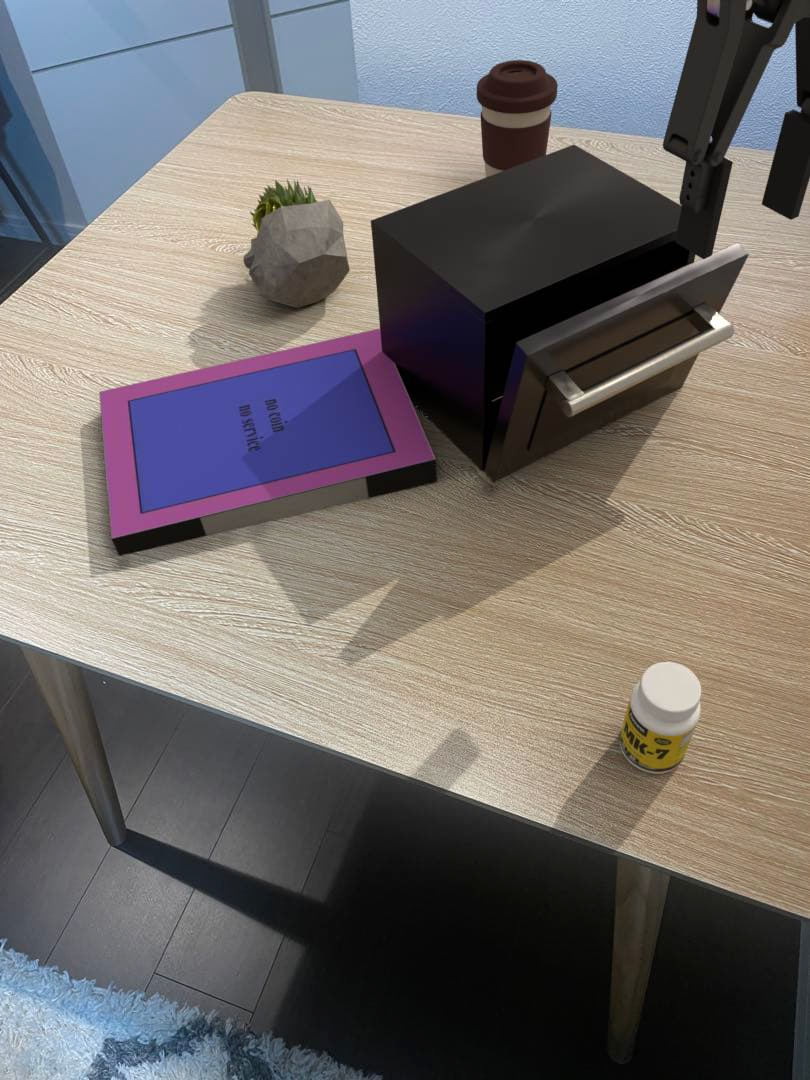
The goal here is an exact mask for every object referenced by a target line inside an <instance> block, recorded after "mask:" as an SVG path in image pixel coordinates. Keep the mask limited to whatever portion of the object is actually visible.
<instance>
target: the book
mask: <svg viewBox="0 0 810 1080" xmlns="http://www.w3.org/2000/svg"><path fill="white" fill-rule="evenodd" d="M98 393H99V406H100V417H101V431H102V442H103V454H104V467H105V479H106V489H107V490H106V492H107V503H108V504H107V505H108V516H109V530H110V539H111V541H112V543H113V545H114V548H115V549H116V552H117V554H118V556H119V557H122V556H126V555H131V554H134V553H140V552H143V551H147V550H151V549H156V548H161V547H165V546H169V545H174V544H178V543H181V542H187V541H191V540H196V539H199V538H204V537H208V536H213V535H217V534H220V533H221V534H222V533H224V532H225V533H226V532H230V531H234V530H238V529H239V530H240V529H243V528H247V527H250V526H255V525H256V526H257V525H261V524H264V523H268V522H273V521H277V520H282V519H286V518H290V517H294V516H298V515H302V514H307V513H312V512H316V511H320V510H325V509H328V508H333V507H338V506H341V505H347V504H350V503H355V502H360V501H363V500H367V499H372V498H376V497H381V496H385V495H390V494H393V493H398V492H400V491H405V490H406V491H407V490H410V489H413V488H418V487H421V486H426V485H430V484H434V483H437V482H438V472H437V459H436V456H435V454H434V451H433V450H432V447H431V444H430V442H429V440H428V438H427V435H426V433H425V430H424V429H423V426H422V423H421V421H420V418H419V416H418V414H417V412H416V409H415V406H414V404H413V403H412V402H411V400H410V398H409V395H408V393H407V391H406V388H405V386H404V384H403V381H402V379H401V377H400V374H399V372H398V370H397V367H396V365H395V363H394V362H393V361H392V360H391V359H390V358H389V357H387V356H386V355H385V354H384V353H383V352H382V345H381V334H380V327H379V328H375V329H371V330H366V331H363V332H359V333H358V332H357V333H353V334H348V335H345V336H344V335H343V336H340V337H336V338H331V339H327V340H322V341H317V342H313V343H309V344H304V345H300V346H296V347H292V348H287V349H283V350H278V351H275V352H269V353H264V354H260V355H256V356H252V357H251V356H250V357H247V358H243V359H238V360H233V361H229V362H225V363H221V364H220V363H219V364H216V365H212V366H207V367H203V368H198V369H194V370H189V371H185V372H180V373H176V374H172V375H167V376H163V377H158V378H154V379H150V380H144V381H140V382H136V383H131V384H127V385H123V386H119V387H113V388H110V389H105V390H100V391H98Z"/></svg>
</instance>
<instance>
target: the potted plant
mask: <svg viewBox="0 0 810 1080" xmlns="http://www.w3.org/2000/svg"><path fill="white" fill-rule="evenodd" d="M274 182H275V187H274V186H270V185H269V184H267V185H266V186H267V188H266V187H263V189H264V191H263V192H262V194H263V195H260V194H258V197H259V199H260V200H259V199H257V200H256V201H257V202H258V205H257V206H256V208H253V210H254V212H252V211H250V210H249V213H250V215H251V216H252V223H251V225H252V226H253V227H254V229H255V230H256V231H257V234H256V237H253V238H251V239H250V249H249V250H248V251H247V252H246V253H245V254H244V255H243V264H244V265H245V268H246V269H248V270H249V271H248V275H249V277H250V278H251V281H252V283H253V285H254V287H255V288H256V290H257V292H258V294H259V296H261V297H263V298H264V299H267V300H269V301H273V302H276V303H279V304H283V305H285V306H289V307H293V308H297V309H298V308H301V307H304V306H308V305H312V304H315V303H319V302H320V301H322V300H324V299H325V298H326V297H328V296H329V295H331V294H333V293H335V291H336V290H337V289H338V288H339V286H340V284H341V283H342V282H343V281H344V279H345V278H346V277H347V275H348V274H349V273H350V271H351V270H350V265H349V259H348V252H347V247H346V240H345V237H344V221H343V219H342V218H341V216H340V214H339V213H338V211H337V209H336V207H335V206H334V204H333V203H332V201H331V199H325V200H321V201H318V200H317V199H316V196H315V195H314V192H313V189H312V187H311V186H307V188H306V187H305V186H303V189H304V191H303V189H302V187H301V185H300V183H299V179H297V181H295V179H293V183H294V185H293V186H294V187H293V186H292V184H291V182H290V181H289V179H288V178H287V179H286V182H287V187H286V186H283V185H282V184H281V183H279V182H278V181H277V179H275V180H274Z"/></svg>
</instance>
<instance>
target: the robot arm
mask: <svg viewBox="0 0 810 1080" xmlns="http://www.w3.org/2000/svg"><path fill="white" fill-rule="evenodd" d="M754 15H755V17H756V18H757V19H758V20H761V21H764V22H766V23H770V24H771V25H770V26H769V27H767V26H765V25H762V24H759V23H756V22H754V21H753V16H754ZM793 28H794V32H795V34H794V37H795V84H796V88H795V89H796V106H797V107H798V108H800V111H797V110H796V109H791V110H788V111H786V112H785V113H784V116H783V118H782V119H783V120H782V122H781V123H782V124H781V126H780V131H779V135H778V139H777V143H776V147H775V150H774V154H773V158H772V162H771V166H770V170H769V173H768V177H767V182H766V185H765V188H764V189H765V190H764V193H763V197H762V200H761V206H764V207H766V208H768V209H769V210H771V211H773V212H775V213H776V214H779V215H781V216H782V217H785V218H786V219H788V220H790V221H791V220H794V219H796V218H799V216H800V213H801V210H802V206H803V202H804V199H805V195H806V194H807V193H806V192H807V189H808V185H809V182H810V0H696V17H695V22H694V25H693V29H692V32H691V36H690V41H689V43H688V47H687V51H686V55H685V58H684V62H683V67H682V69H681V73H680V78H679V81H678V84H677V89H676V92H675V96H674V100H673V104H672V108H671V111H670V114H669V115H670V116H669V118H668V122H667V126H666V130H665V134H664V138H663V142H662V149H663V150H664V151H666V152H667V153H669V154H672V155H673V156H675V157H677V158H679V159H680V160H683V161H685V165H684V171H683V176H682V182H681V183H682V184H681V188H680V192H679V197H678V198H679V205H681V206H682V208H681V214H680V219H679V224H678V229H677V235H676V240H675V242H676V243H677V244H679V245H681V246H682V247H684V248H685V249H687V250H689V251H690V252H692V253H694V254H695V256H697V257H698V258H700V259H706V258H708V257H710V256H712V254H713V253H714V248H715V243H716V239H717V234H718V230H719V227H720V221H721V217H722V212H723V209H724V208H723V207H724V204H725V199H726V195H727V190H728V186H729V181H730V178H731V174H732V173H731V172H732V169H733V164H734V161H732V160H730V159H728V158H726V154H727V152H728V150H729V148H730V146H731V144H732V141H733V139H734V137H735V135H736V133H737V131H738V128H739V126H740V124H741V122H742V120H743V118H744V116H745V114H746V111H747V109H748V107H749V105H750V102H751V100H752V99H753V96H754V94H755V92H756V90H757V88H758V85H760V84H759V83H760V81H761V79H762V77H763V75H764V73H765V71H766V68H767V66H768V64H769V62H770V60H771V58H772V56H773V53H774V52H775V51H776V50H777V49H780V48H782V47H783V46H784V45H785V44H786V42H787V41H788V38H789V36H790V35H791V33H792V30H793Z"/></svg>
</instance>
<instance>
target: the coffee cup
mask: <svg viewBox="0 0 810 1080" xmlns="http://www.w3.org/2000/svg"><path fill="white" fill-rule="evenodd" d="M558 85H559V84H558V81H557V79H556V78H555V77H554V76H553V75H552V74H549V73H548V72H547V71H546V69H545V67H544V66H543V65H541V64H540V63H538V62H534V61H531V60H525V59H514V60H507V61H503V62H499V63H497V64H495V65H493V67H491V68H490V70H489V72H488V73H487V74H486V75H484V76H482V77H481V78H479V80H478V82H477V84H476V100H477V102H478V103H479V104H480V105H481V112H480V130H481V132H480V133H481V147H482V150H481V151H482V159H483V161H484V172H485V176H484V177H485V178H486V177H489V176H491V175H494V174H497V173H499V172H502V171H505V170H507V169H510V168H513V167H515V166H518V165H521V164H523V163H526V162H529V161H531V160H534V159H537V158H539V157H542V156H545V155H547V151H548V143H549V136H550V128H551V120H552V110H551V107H552V105H553V104H554V102H555V101H556V100H557V97H558V87H559V86H558Z"/></svg>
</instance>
